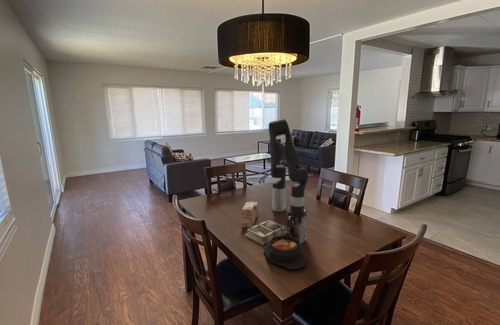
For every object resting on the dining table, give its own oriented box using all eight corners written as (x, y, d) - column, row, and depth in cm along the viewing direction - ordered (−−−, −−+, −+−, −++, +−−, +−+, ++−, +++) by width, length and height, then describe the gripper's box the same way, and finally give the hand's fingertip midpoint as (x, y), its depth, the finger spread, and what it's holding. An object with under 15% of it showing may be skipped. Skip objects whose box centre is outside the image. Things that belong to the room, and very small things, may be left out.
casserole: (255, 251, 133) (255, 236, 131) (283, 241, 142) (283, 228, 140) (285, 278, 112) (286, 260, 110) (316, 264, 121) (317, 248, 120)
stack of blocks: (249, 213, 181) (249, 197, 178) (258, 214, 179) (258, 197, 177) (242, 227, 160) (241, 208, 158) (251, 228, 159) (251, 209, 156)
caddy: (268, 224, 163) (268, 217, 162) (286, 233, 152) (287, 225, 151) (245, 235, 150) (245, 227, 149) (263, 245, 139) (263, 236, 138)
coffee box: (286, 238, 145) (287, 212, 142) (292, 234, 150) (293, 209, 147) (300, 244, 139) (301, 217, 136) (306, 240, 144) (307, 213, 141)
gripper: (299, 198, 148) (298, 224, 151) (283, 204, 138) (283, 232, 141) (310, 202, 142) (309, 229, 145) (294, 208, 133) (293, 237, 136)
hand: (296, 230), depth 143 cm, fingers open, 8 cm apart
